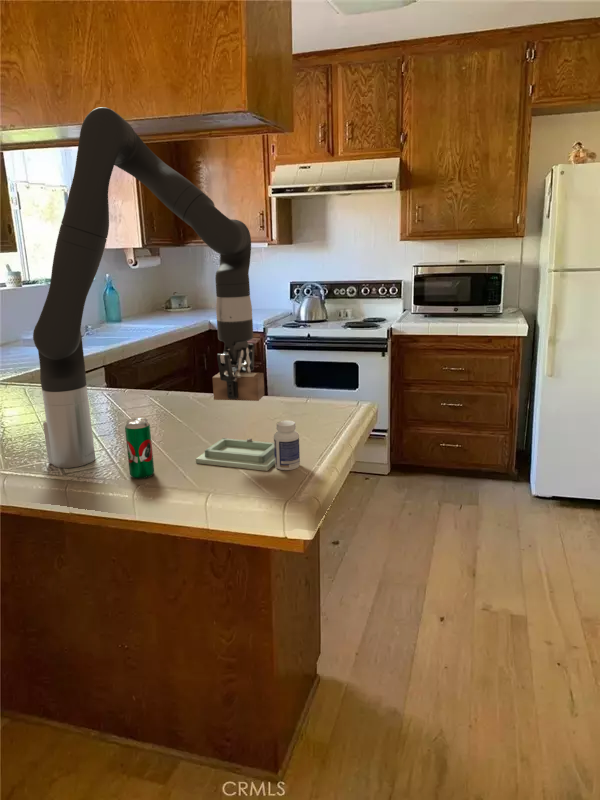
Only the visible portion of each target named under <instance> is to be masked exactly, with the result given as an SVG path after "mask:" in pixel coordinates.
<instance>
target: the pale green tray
mask: <svg viewBox="0 0 600 800" xmlns="http://www.w3.org/2000/svg"><path fill="white" fill-rule="evenodd" d="M195 464H201V465H212V466H218V467H220V466H221V467H229V468H237V469H248V470H256V471H257V470H258V471H266V472H268V471H269V470H270V469H271V468H272V467H273V466H275V455H274V442H270V441H259V440H253V439H252V438H246V439H235V438H227V437H222V438H221V439H220V440H218V441H216V442H215V443H213V445H211V446H209V447H208V448H206V449H205V450H204V452H203V453H202V454H201V455H199V456H198V457H196V458H195Z"/></svg>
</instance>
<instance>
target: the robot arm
mask: <svg viewBox="0 0 600 800" xmlns="http://www.w3.org/2000/svg"><path fill="white" fill-rule="evenodd" d="M78 138H79V139H78V145H77V154H76V161H75V167H74V172H73V178H72V181H71V185H70V190H69V193H68V197H67V200H66V205H65V209H64V213H63V217H62V219H61V224H60V226H59V230H58V235H57V239H56V243H55V248H54V253H53V254H54V255H53V260H52V265H51V266H52V267H51V275H50V283H49V289H48V291H47V296H46V299H45V301H44V303H43V308H42V310H41V312H40V315H39V317H38V320H37V323H36V324H35V325H34V329H33V332H32V333H33V334H32V338H33V342H34V345H35V347H36V350H37V352H38V359H39V361H38V362H39V369H40V370H39V374H40V375H39V377H40V385H41V393H42V400H43V401H42V402H43V405H44V406H43V407H44V408H43V409H44V414H45V420H46V421H44V422H43V424H42V425H43V433H44V441H45V447H46V454H47V462H48V464H51V465H52V466H53V467H57V468H62V469H64V468H65V469H67V468H68V469H69V468H77V467H82V466H85V465H88V464H91V463H92V462H94V460H96V452H95V444H94V435H93V427H92V426H93V425H92V418H91V411H90V409H91V408H90V401H89V395H88V386H87V377H86V376H87V375H86V374H87V373H86V364H85V362H86V361H85V354H84V345H83V338H82V337H83V336H82V331H81V329H82V321H83V317H84V316H83V315H84V310H85V309H84V308H85V305H86V301H87V297H88V294H89V291H90V289H91V287H92V284H93V282H94V280H95V277H96V275H97V273H98V270H99V267H100V263H101V262H102V258H103V254H104V251H105V247H106V244H107V241H108V240H107V239H108V236H109V229H110V211H109V210H110V208H109V207H110V205H109V204H110V203H109V187H110V182H111V181H110V180H111V176H112V173H113V170H114V167H117V168H119V169H121V170H122V171H124V172H126V173H127V174H128V175H130V176H132V177H134V178H135V179H136V180H138V181H139V182H141V184H142V185H144V186H145V187H146V188H147V189H148V190H149V191H150V192H151V193H152V194H153V195H154V196H155V197H156V198H157V199H158V200H159V201H160V202H161V203H162V204H163V205H164V206H165V207H166V208H167V209H169V210H170V211H171V212H172V213H173V214H175V215H176V216H177V218H180V220H182V222H184V223H185V224H187V225H188V226H190V227H191V228H192V229H193V230H194V232H195V233H196V235H198V237H199V238H200V239H201V240H202V241H203V242H204V244H206V246H208V248H210V249H211V250H212V251H214V252H215V253H217V254H219V267H218V268H217V270H216V272H215V281H214V282H215V293H216V305H215V310H216V311H215V314H216V328H217V339H218V340H219V341H220V342H223V343H224V346H223V347H224V348H223V352H222V353H217V354H216V360H217V365H218V371H219V372H220V378H221V380H222V381H226V382H227V395H228V398H229V399H237V398H238V383H237V378H238V372H244V373H252V372H251V371H254V370H255V343H248V342H249V341H252V340H253V339H254V327H253V326H254V321H253V305H252V300H251V291H250V290H251V289H250V276H249V272H250V266H251V265H250V263H251V253H252V238H251V233H250V230H249V228H248V226H247V225H246V224H245V223H244V222H243V221H242V220H239V219H233V218H232V219H231V218H228V216H226V215H225V214H223V213H222V212H221V211H220V210H219V209H218V208H217V207H216V205H215V203H214V201H213V200H212V199H211V198H210V197H209V196H208V195H207V194H206V193H205V192H203V191H202V190H201V189H200V188H199V187H197V185H195V184H194V183H193V182H192V181H190V180H189V179H188V178H186V177H184V176H183V175H182V174H181V173H179V172H178V171H176V170H175V169H173V167H171V166H169V165H168V164H167V163H165V162H164V161H163V160H162V159H161V158H160V157H158V156H157V155H156V154H155V153H154V152H153V151H152V150H151V148H149V146H148V145H146V143H145V142H144V141H143V140H142V139H141V137H140V136H139V135H138V134H137V132H136V130H134V128H133V127H132V125H131V124H130V123H129V122H128V121H127V120H125V118H123V117H122V116H121V115H120V114H118V113H117V112H116V111H114V110H113V109H111V108H108V107H106V106H105V107H103V106H101V107H96V108H94V109H92V111H90V112H88V114H87V115H86V116H85V118H84V119H83V122H82V124H81V128H80V132H79V137H78ZM219 372H218V373H219ZM224 372H225V374H224ZM233 372H234V374H233Z"/></svg>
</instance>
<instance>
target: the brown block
mask: <svg viewBox="0 0 600 800" xmlns="http://www.w3.org/2000/svg"><path fill="white" fill-rule="evenodd" d="M232 372H233V374H234V371H232ZM224 374H225V371H224ZM264 374H265V373H264V372H251V373H244V372H238V378H237V383H238V398H237V399H229V398H228V395H227V382H226V381H222V380H221V378H220V372H218V373H217V374H215V375H213V376H212V378H211V379H212V390H213V391H212V392H213V401H247V402H248V401H250V402H252V401H253V402H254V401H255V402H259V401H260V400H261V399H262V398H263V397H264V396H265V378H264Z"/></svg>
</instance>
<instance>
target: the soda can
mask: <svg viewBox="0 0 600 800" xmlns="http://www.w3.org/2000/svg"><path fill="white" fill-rule="evenodd" d="M151 430H152V429H151V424H150V422H149V420H148V419H147V418H145V417H136V418H135V417H134V418H130V419H127V420H126V421H125V426H124V433H125V434H124V435H125V443H126V444H125V445H126V452H127V453H126V454H127V460H128V461H127V462H128V469H129V471H128V472H129V476H130V477H132V479H137V480H142V479H148V478H150V477H152V476H153V475H154V473H155V463H154V453H153V443H152V442H153V441H152V433H151Z"/></svg>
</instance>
